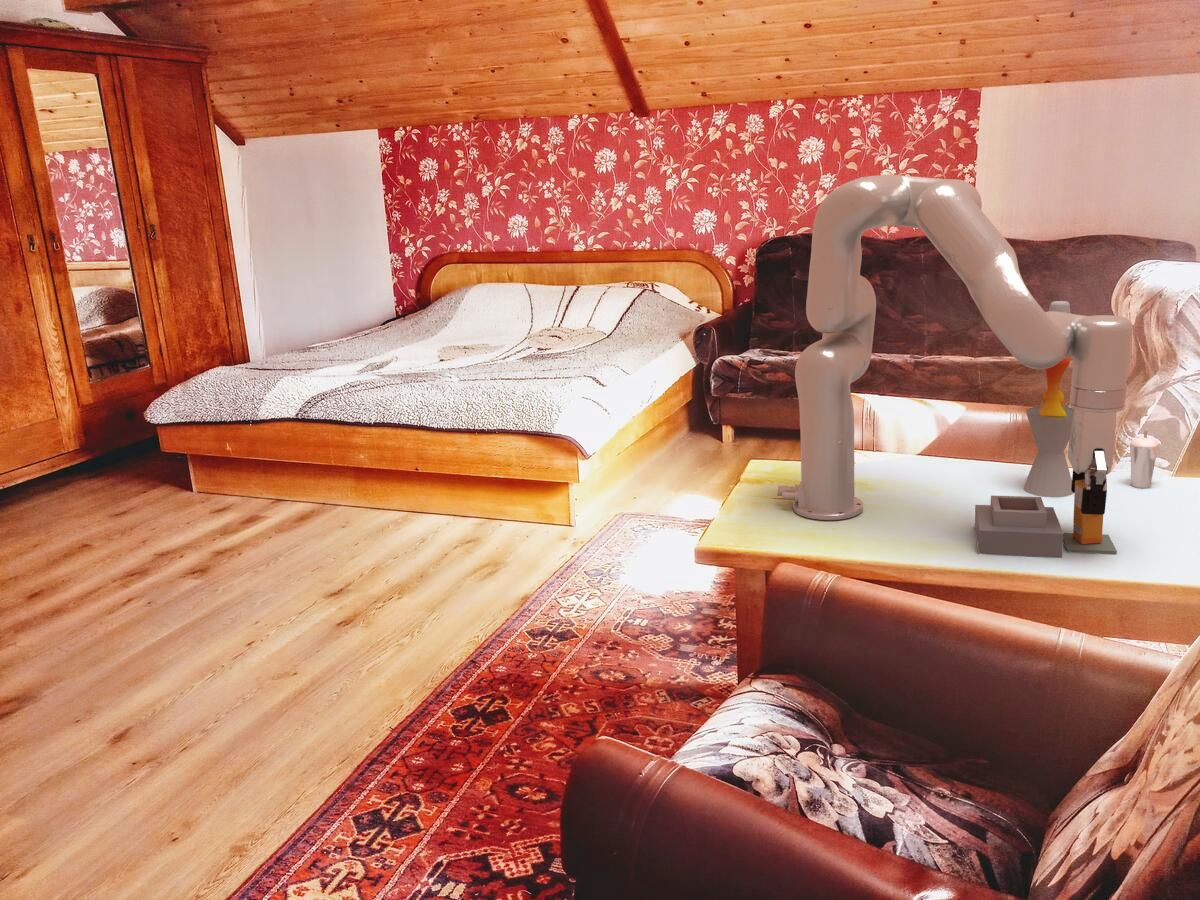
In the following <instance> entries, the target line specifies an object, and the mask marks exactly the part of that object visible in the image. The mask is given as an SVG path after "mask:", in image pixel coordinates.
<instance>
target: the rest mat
mask: <svg viewBox="0 0 1200 900" xmlns="http://www.w3.org/2000/svg"><path fill="white" fill-rule="evenodd" d="M1063 534H1064V535H1063V547H1064V548H1065V550H1066V552H1067V553H1080V554H1081V553H1083V554H1084V553H1085V554H1101V555H1102V554H1103V555H1117V553H1118V551H1117V549H1116V546H1115V545H1114V543H1113V541H1112V539H1111V536H1110V535H1109V534H1105V533H1104V534H1103V533H1102V542H1101V543H1093V544H1081V543H1079V542H1078V541H1076V540H1075V539H1074V538H1073V532H1063Z"/></svg>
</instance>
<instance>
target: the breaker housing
mask: <svg viewBox="0 0 1200 900" xmlns="http://www.w3.org/2000/svg"><path fill="white" fill-rule="evenodd" d="M974 507H975V509H974V532H975V537H976V544H977V550H978V551H977V552H978V555H993V556H994V555H995V556H997V555H998V556H1014V557H1015V556H1019V557H1037V558H1038V557H1039V558H1053V559H1054V558H1058V559H1059V558H1060V559H1061V558H1063V547H1064V543H1063V535H1064V534H1063V533H1064V531H1063V529H1062V526H1061V523H1060V521H1059V517H1058V516H1057V514H1056V511H1055V508H1054V507H1052V506H1045V504H1044V502H1043V499H1042V496H1023V495H1022V496H1021V495H1020V496H1017V495H1016V496H1015V495H990V504H975V505H974Z"/></svg>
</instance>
